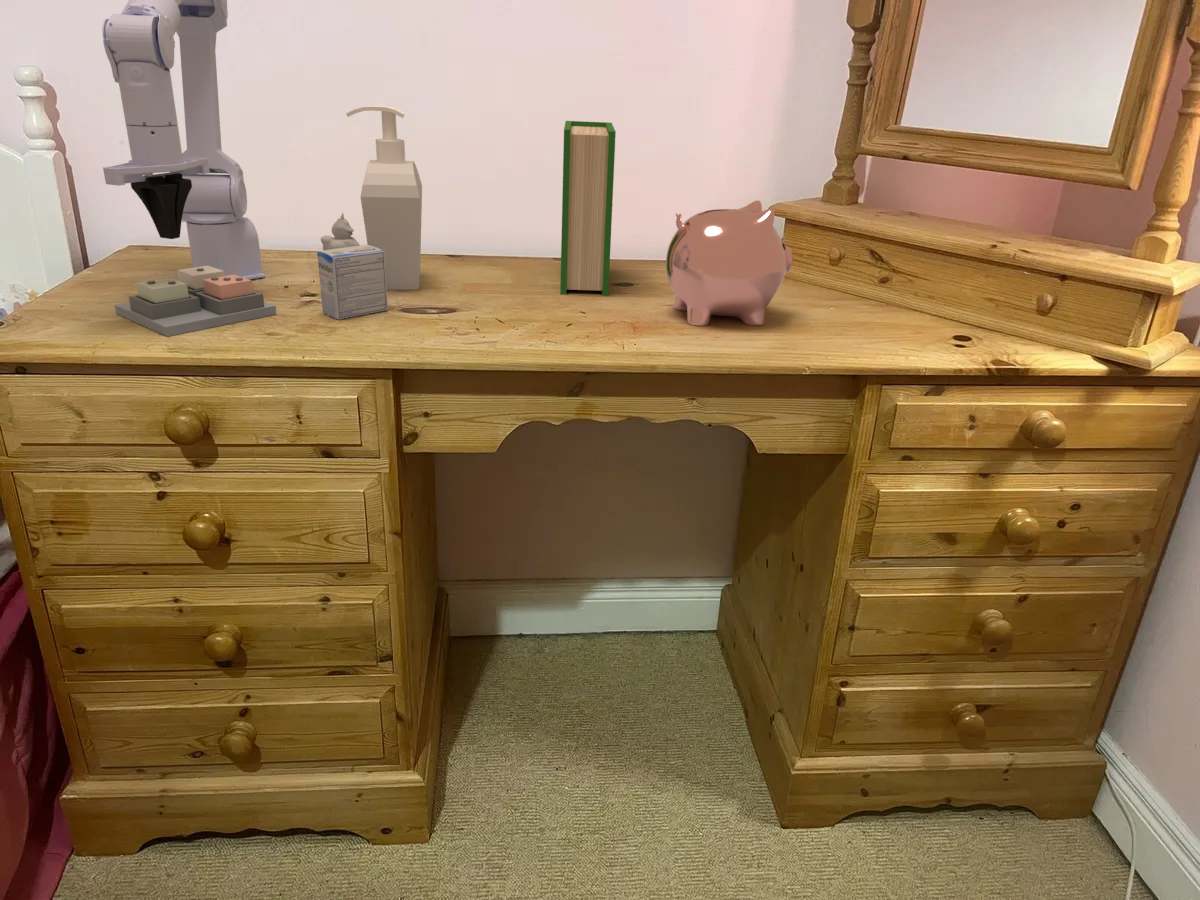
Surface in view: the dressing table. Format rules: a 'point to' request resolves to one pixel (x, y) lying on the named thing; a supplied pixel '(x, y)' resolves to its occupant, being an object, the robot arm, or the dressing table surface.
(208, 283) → the tile coral
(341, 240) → the rubber duck
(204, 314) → the stacking puzzle board
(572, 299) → the dressing table surface
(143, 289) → the tile sage
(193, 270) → the tile ivory
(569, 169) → the hardback book
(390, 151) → the soap bottle
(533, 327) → the dressing table surface
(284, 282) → the dressing table surface
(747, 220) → the piggy bank
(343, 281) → the medicine box
